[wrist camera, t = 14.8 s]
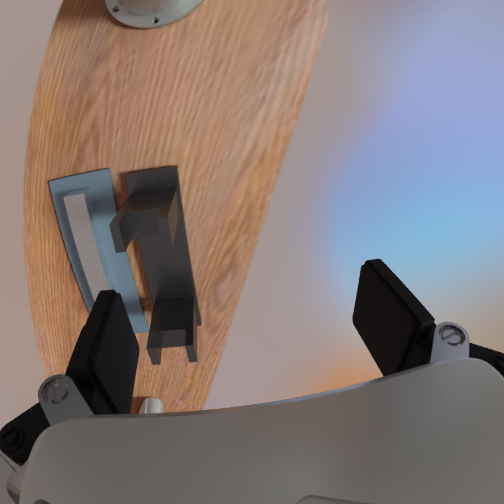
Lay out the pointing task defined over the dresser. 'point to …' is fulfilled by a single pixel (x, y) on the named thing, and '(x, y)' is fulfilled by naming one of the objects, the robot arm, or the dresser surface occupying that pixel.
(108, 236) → the mat
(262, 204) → the dresser surface
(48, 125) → the dresser surface
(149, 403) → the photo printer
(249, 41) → the dresser surface
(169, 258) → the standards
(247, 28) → the dresser surface
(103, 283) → the rail
